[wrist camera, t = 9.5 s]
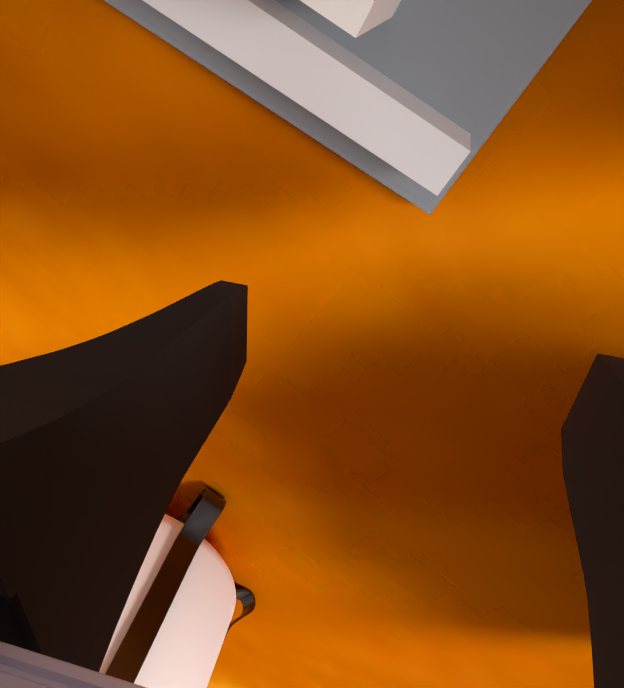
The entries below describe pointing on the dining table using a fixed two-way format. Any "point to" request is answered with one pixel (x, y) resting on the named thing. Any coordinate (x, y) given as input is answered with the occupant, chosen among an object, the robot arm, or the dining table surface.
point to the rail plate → (375, 74)
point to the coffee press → (177, 606)
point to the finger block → (355, 13)
